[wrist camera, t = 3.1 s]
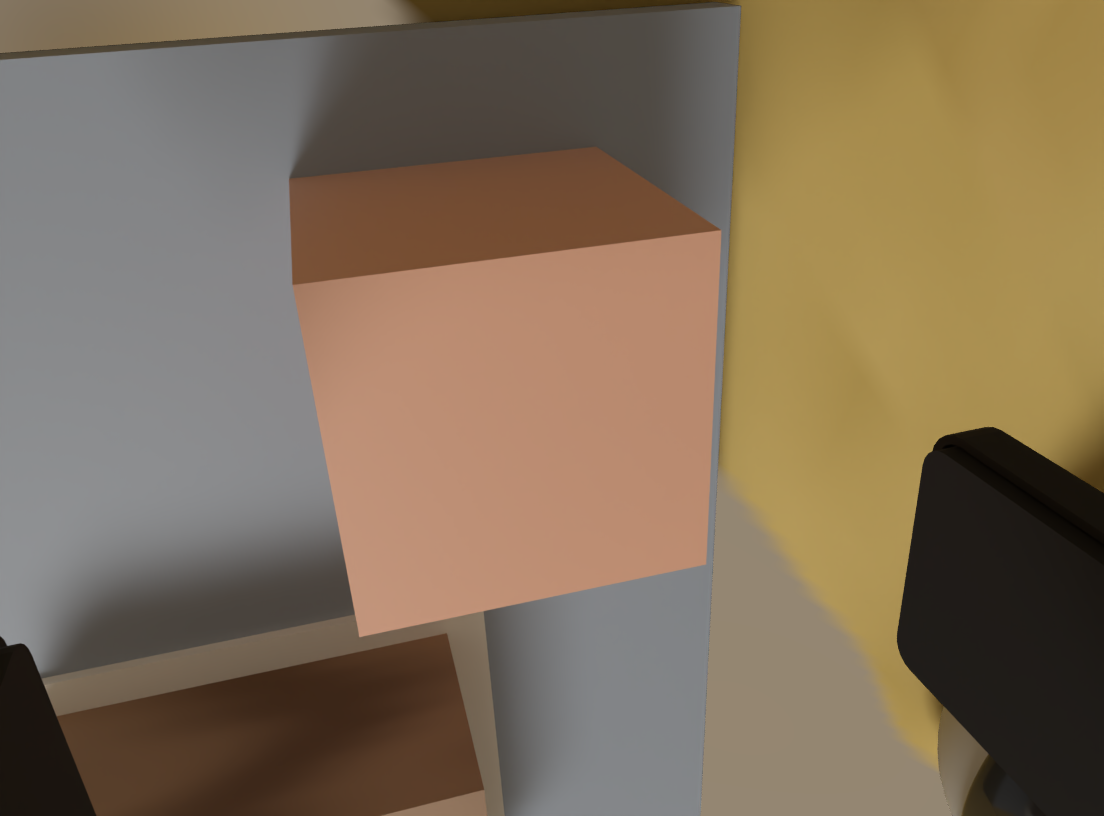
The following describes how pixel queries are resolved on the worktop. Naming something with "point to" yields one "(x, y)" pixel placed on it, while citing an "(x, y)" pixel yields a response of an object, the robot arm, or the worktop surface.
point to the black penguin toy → (976, 777)
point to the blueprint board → (283, 376)
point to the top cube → (507, 377)
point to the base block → (291, 742)
